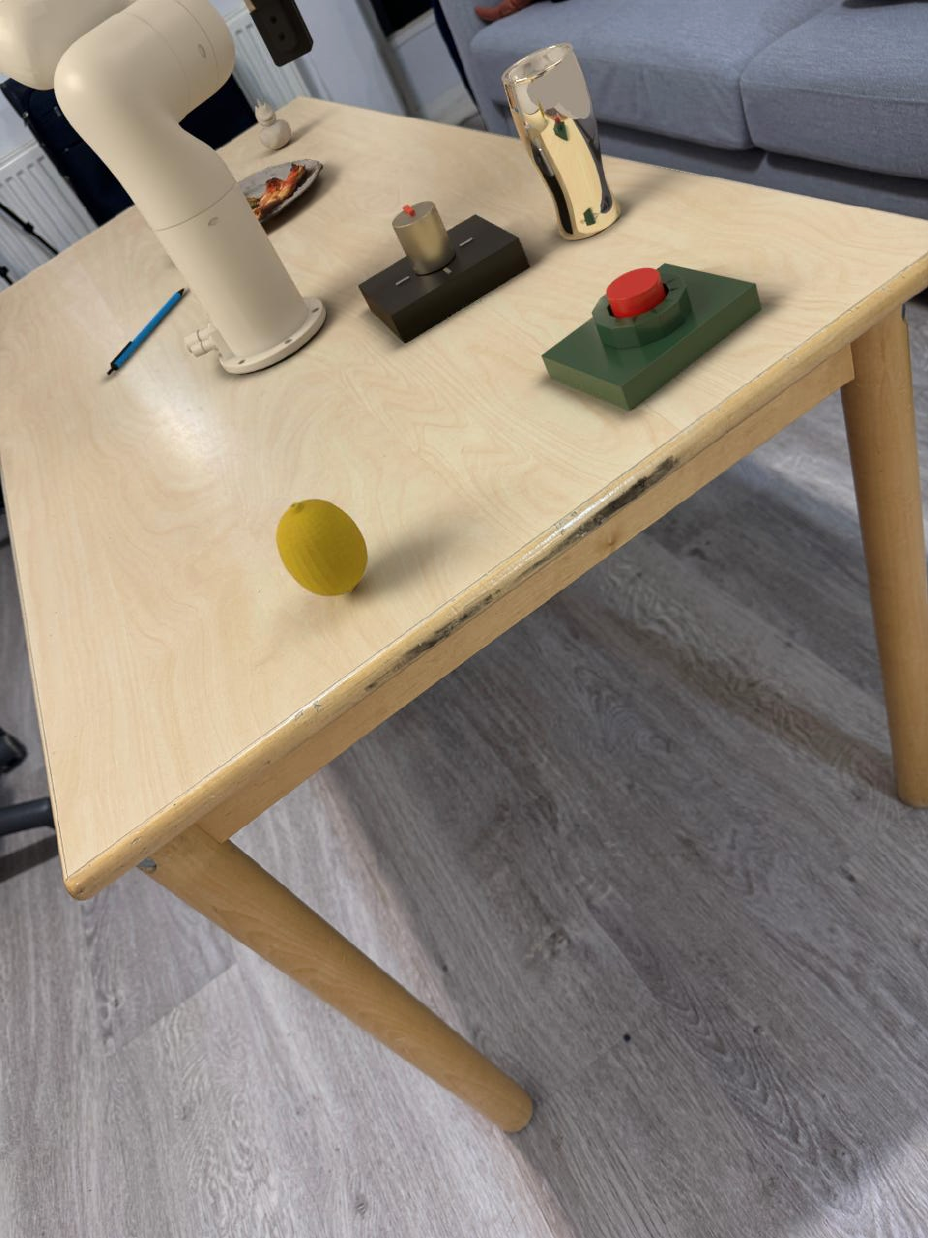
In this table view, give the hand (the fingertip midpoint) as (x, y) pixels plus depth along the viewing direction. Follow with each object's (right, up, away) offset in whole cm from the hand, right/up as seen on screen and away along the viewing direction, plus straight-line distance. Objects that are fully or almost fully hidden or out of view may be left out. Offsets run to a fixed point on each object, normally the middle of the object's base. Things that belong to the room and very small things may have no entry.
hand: (296, 55), depth 75 cm
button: (+26, -20, -3) cm, 33 cm away
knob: (+10, -9, +19) cm, 24 cm away
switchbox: (+27, -22, -1) cm, 35 cm away
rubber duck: (-18, +36, +88) cm, 97 cm away
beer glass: (+25, -5, +19) cm, 32 cm away
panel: (+11, -11, +21) cm, 26 cm away
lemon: (+5, -41, -7) cm, 42 cm away
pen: (-27, -7, +49) cm, 57 cm away
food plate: (-18, +15, +67) cm, 70 cm away
